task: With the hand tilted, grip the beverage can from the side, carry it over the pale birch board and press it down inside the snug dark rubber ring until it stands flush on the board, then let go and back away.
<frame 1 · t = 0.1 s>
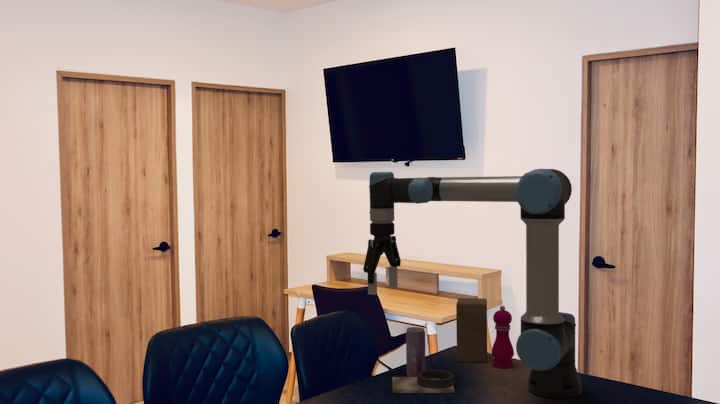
hand: (383, 290, 208), 28 cm above the table, tool pointing down, fingers open, 13 cm apart
band board: (435, 386, 203), on the table
beverage can: (416, 376, 213), on the table
wooden block: (472, 358, 233), on the table
pepper mill: (502, 366, 223), on the table
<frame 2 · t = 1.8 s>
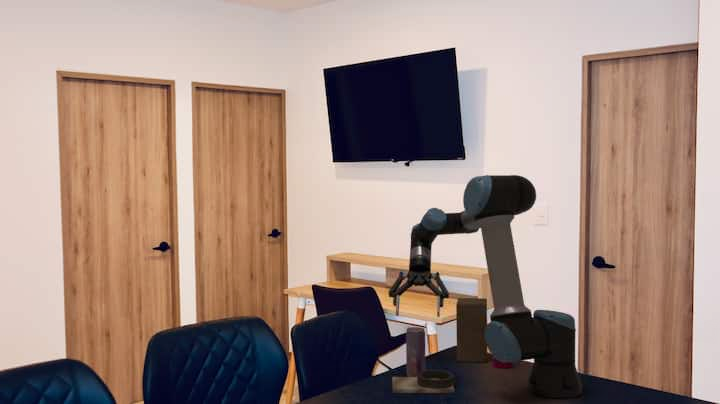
hand: (417, 314, 223), 17 cm above the table, tool tilted 45°, fingers open, 13 cm apart
nothing on the table moved.
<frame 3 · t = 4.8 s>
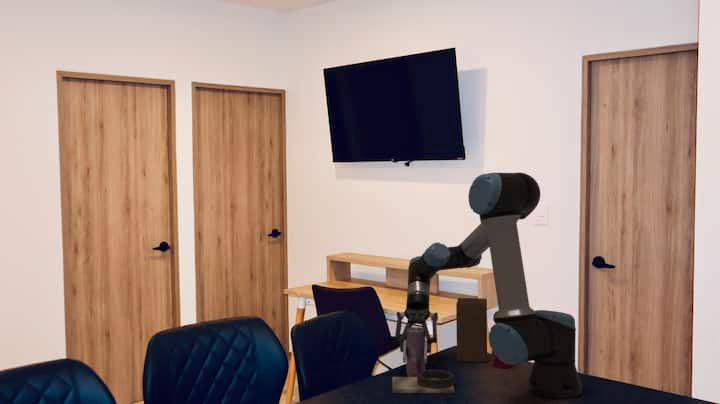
hand: (414, 360, 210), 6 cm above the table, tool tilted 45°, fingers closed on beverage can, 6 cm apart
beverage can: (416, 376, 213), on the table, touching gripper
everything else where it was.
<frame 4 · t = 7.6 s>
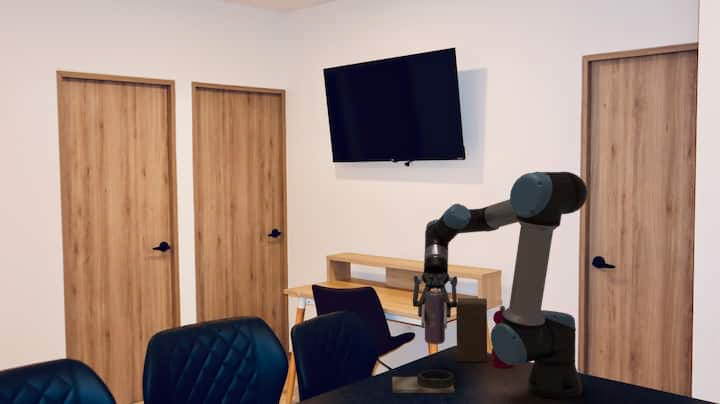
hand: (434, 325, 199), 19 cm above the table, tool tilted 45°, fingers closed on beverage can, 6 cm apart
beverage can: (434, 342, 203), point 13 cm above the table, touching gripper
everything else where it was.
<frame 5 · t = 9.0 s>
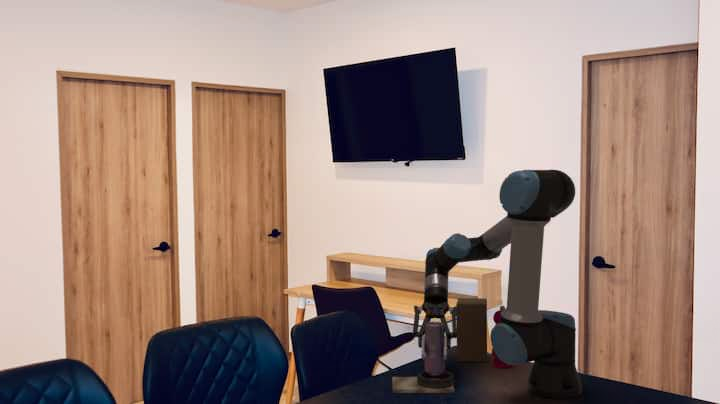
hand: (434, 356, 199), 10 cm above the table, tool tilted 45°, fingers closed on beverage can, 6 cm apart
beverage can: (434, 373, 203), point 4 cm above the table, touching gripper
everything else where it was.
when the fingers open (8 cm above the table, at t = 10.2 s): beverage can drops 1 cm, resting on band board.
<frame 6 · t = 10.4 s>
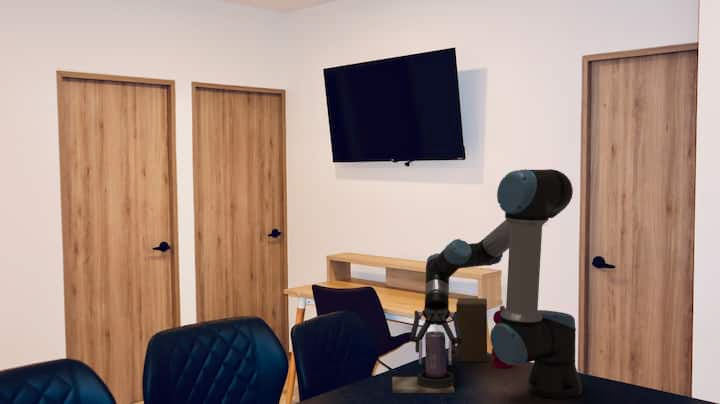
hand: (434, 361, 199), 8 cm above the table, tool tilted 45°, fingers open, 8 cm apart
beverage can: (436, 383, 203), point 1 cm above the table, touching band board
everything else where it was.
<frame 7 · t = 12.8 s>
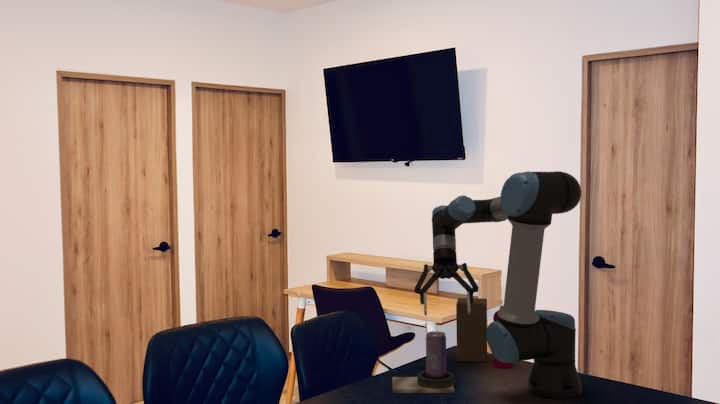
hand: (447, 313, 212), 20 cm above the table, tool tilted 30°, fingers open, 13 cm apart
nothing on the table moved.
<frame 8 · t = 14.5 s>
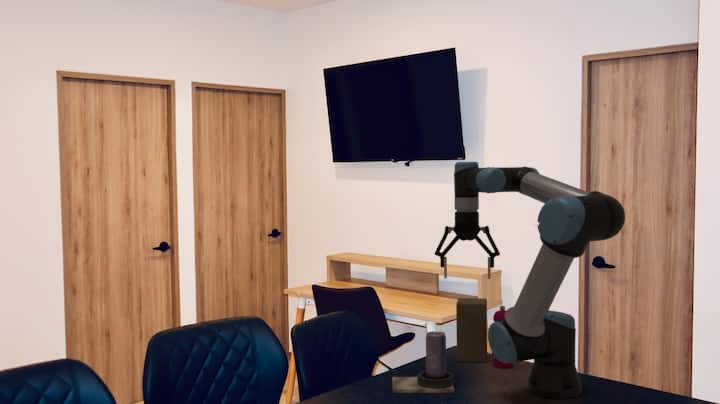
hand: (467, 278, 213), 31 cm above the table, tool pointing down, fingers open, 13 cm apart
nothing on the table moved.
at the end: beverage can 0.2 cm from the band board (horizontally); beverage can tilted 0°; beverage can point 0.8 cm above the table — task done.
